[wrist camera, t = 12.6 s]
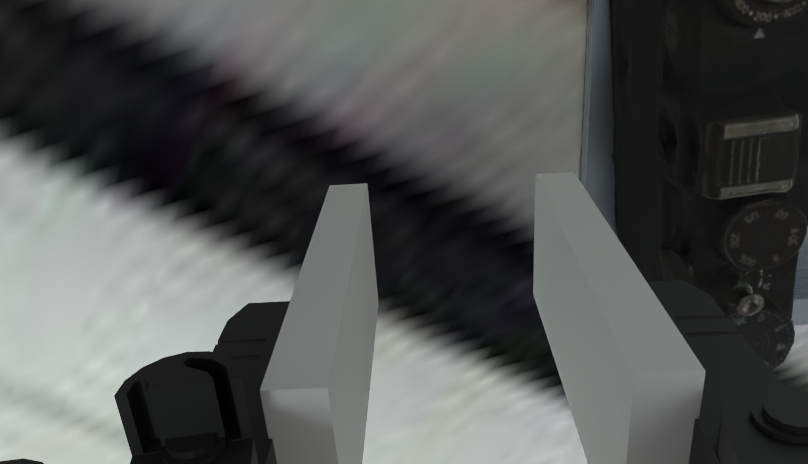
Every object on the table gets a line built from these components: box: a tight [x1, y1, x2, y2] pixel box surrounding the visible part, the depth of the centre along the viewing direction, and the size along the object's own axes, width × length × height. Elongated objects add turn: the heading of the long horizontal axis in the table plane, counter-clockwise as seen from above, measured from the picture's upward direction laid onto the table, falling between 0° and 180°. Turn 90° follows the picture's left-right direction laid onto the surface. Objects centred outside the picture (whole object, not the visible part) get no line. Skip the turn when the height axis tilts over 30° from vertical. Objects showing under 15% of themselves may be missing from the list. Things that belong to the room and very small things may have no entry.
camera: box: [609, 0, 808, 370], centre depth 21 cm, size 14×11×10 cm
